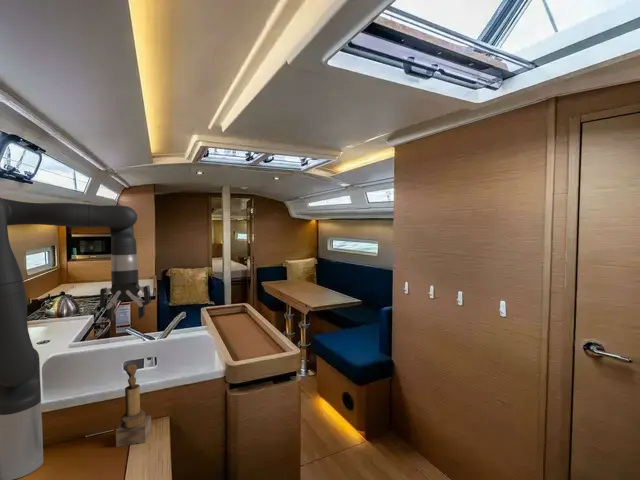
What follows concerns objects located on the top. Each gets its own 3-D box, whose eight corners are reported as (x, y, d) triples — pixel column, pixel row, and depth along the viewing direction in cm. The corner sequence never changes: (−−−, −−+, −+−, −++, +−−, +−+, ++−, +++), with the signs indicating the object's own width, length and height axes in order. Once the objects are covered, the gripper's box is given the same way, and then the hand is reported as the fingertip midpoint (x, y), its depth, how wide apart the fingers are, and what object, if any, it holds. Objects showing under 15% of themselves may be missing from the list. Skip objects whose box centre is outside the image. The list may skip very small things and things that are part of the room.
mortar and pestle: (149, 416, 107) (147, 360, 107) (139, 427, 101) (136, 368, 100) (128, 417, 107) (126, 361, 107) (116, 429, 100) (114, 369, 100)
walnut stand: (116, 447, 100) (115, 430, 100) (124, 434, 106) (123, 418, 106) (145, 442, 101) (144, 426, 101) (151, 430, 108) (150, 415, 108)
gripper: (94, 271, 102) (96, 323, 102) (145, 268, 105) (146, 320, 105) (105, 268, 109) (107, 318, 110) (152, 266, 112) (153, 314, 112)
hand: (126, 319), depth 107 cm, fingers open, 8 cm apart
